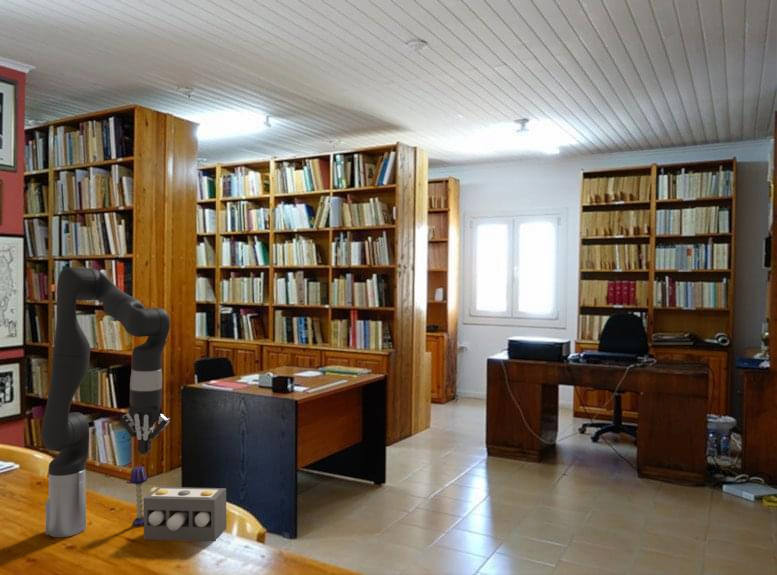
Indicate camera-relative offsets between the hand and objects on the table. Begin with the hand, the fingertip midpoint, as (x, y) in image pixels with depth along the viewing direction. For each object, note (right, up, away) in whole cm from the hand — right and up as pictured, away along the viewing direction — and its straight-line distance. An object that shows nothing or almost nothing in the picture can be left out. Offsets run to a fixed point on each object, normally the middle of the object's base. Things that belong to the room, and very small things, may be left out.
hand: (144, 453), depth 151 cm
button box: (+6, -27, +15) cm, 31 cm away
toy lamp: (-10, -27, +22) cm, 36 cm away
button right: (+12, -23, +12) cm, 28 cm away
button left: (-1, -23, +13) cm, 26 cm away
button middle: (+5, -23, +10) cm, 25 cm away
